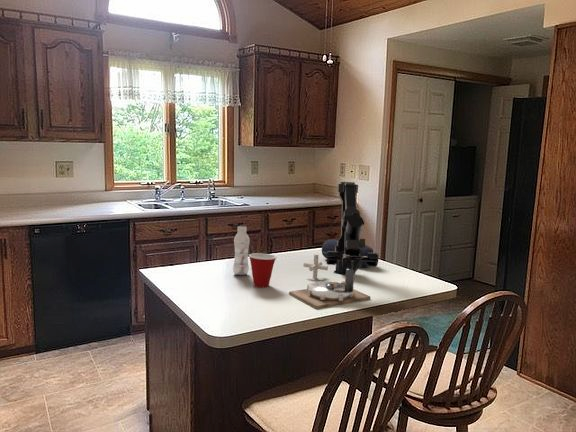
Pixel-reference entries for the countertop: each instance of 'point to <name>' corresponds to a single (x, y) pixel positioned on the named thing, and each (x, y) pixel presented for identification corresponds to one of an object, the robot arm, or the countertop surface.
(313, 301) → the base board
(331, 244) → the portable speaker
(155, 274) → the countertop surface
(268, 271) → the plastic cup
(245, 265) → the plastic bottle
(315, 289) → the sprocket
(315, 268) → the pipe connector
